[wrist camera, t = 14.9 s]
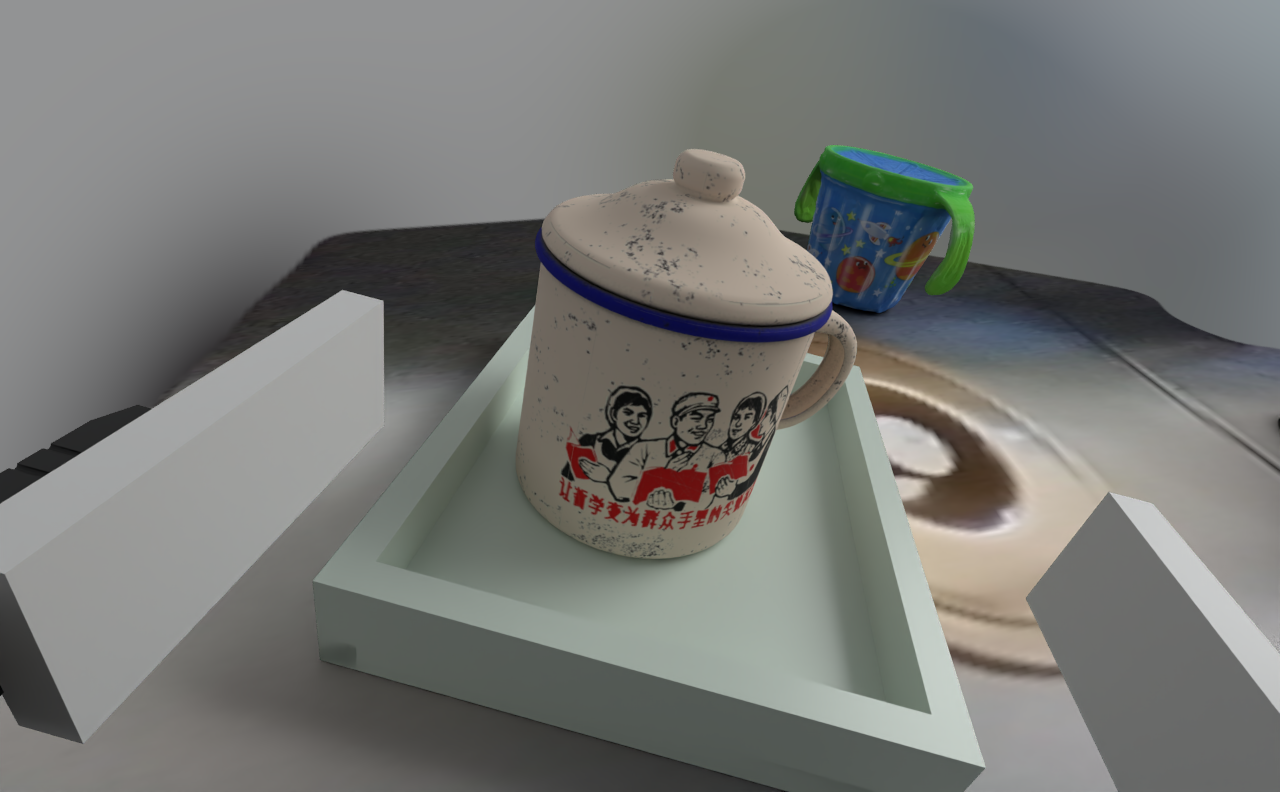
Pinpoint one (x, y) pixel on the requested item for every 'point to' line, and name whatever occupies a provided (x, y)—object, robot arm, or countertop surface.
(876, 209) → the snack cup
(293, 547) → the countertop surface
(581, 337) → the teacup with lid
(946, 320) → the countertop surface
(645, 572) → the sage tray
